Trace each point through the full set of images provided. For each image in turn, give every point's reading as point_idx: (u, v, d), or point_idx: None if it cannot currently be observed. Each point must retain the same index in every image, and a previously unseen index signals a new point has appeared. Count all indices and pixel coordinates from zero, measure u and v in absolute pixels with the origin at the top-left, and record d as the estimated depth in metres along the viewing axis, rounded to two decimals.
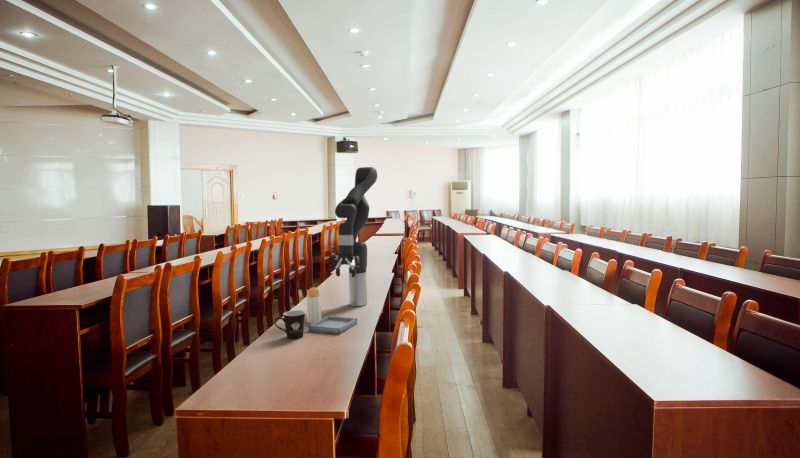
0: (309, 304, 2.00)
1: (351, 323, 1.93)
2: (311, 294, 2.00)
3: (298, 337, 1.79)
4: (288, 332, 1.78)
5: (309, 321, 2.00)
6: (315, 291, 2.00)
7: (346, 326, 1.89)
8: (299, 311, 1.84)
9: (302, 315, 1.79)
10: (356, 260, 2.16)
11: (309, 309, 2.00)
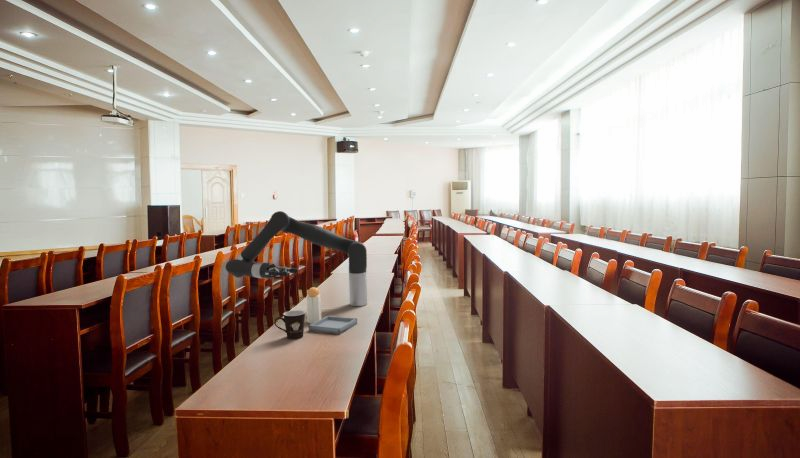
0: (309, 304, 2.00)
1: (351, 323, 1.93)
2: (311, 294, 2.00)
3: (298, 337, 1.79)
4: (288, 332, 1.78)
5: (309, 321, 2.00)
6: (315, 291, 2.00)
7: (346, 326, 1.89)
8: (299, 311, 1.84)
9: (302, 315, 1.79)
10: None
11: (309, 309, 2.00)
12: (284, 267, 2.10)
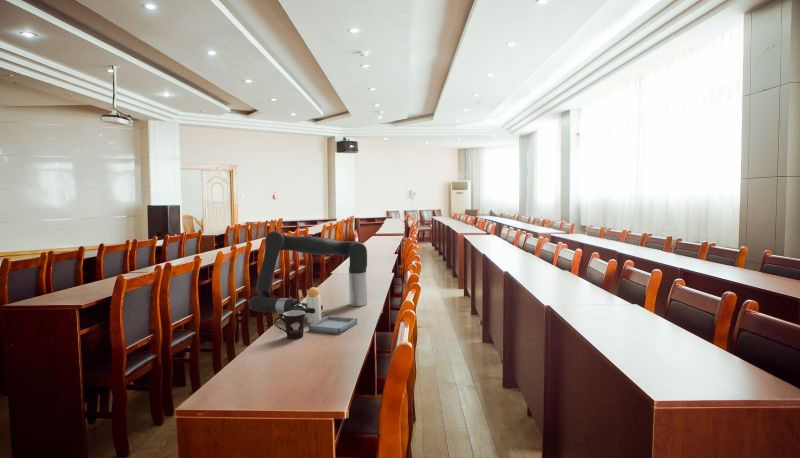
0: (309, 304, 2.00)
1: (351, 323, 1.93)
2: (311, 294, 2.00)
3: (298, 337, 1.79)
4: (288, 332, 1.78)
5: (309, 321, 2.00)
6: (315, 291, 2.00)
7: (346, 326, 1.89)
8: (299, 311, 1.84)
9: (302, 315, 1.79)
10: None
11: None
12: None
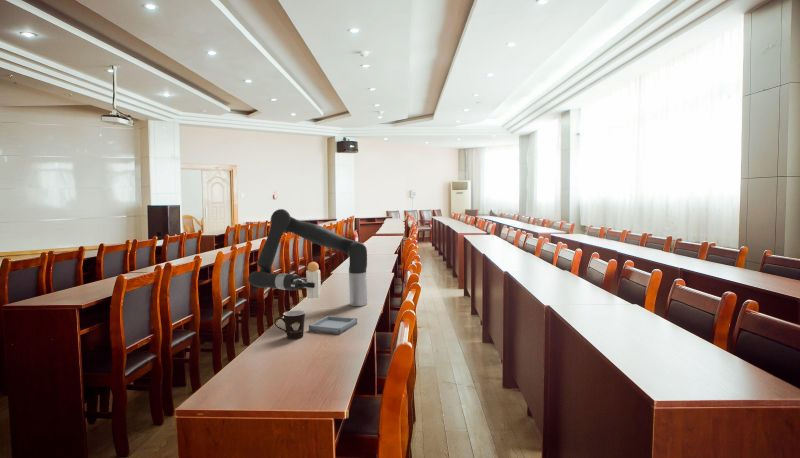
0: (309, 278, 1.98)
1: (351, 323, 1.93)
2: (311, 268, 1.98)
3: (298, 337, 1.79)
4: (288, 332, 1.78)
5: (309, 296, 1.99)
6: (315, 265, 1.99)
7: (346, 326, 1.89)
8: (299, 311, 1.84)
9: (302, 315, 1.79)
10: (294, 288, 1.98)
11: None
12: None
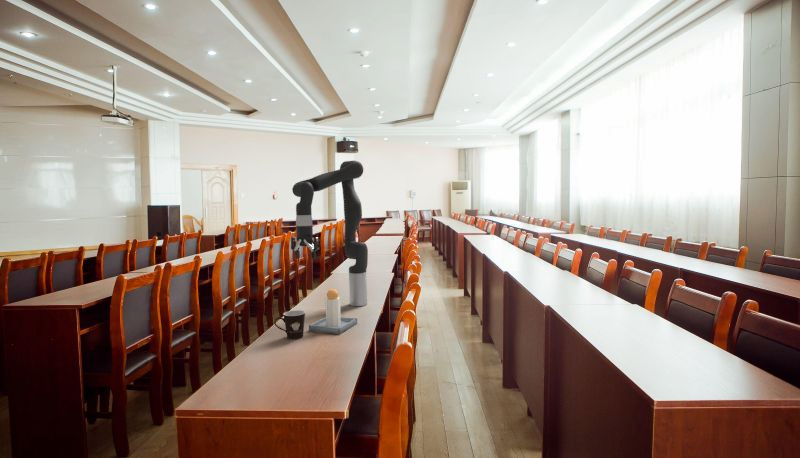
0: (328, 307, 1.90)
1: (351, 323, 1.93)
2: (330, 296, 1.90)
3: (298, 337, 1.79)
4: (288, 332, 1.78)
5: (328, 324, 1.91)
6: (334, 293, 1.91)
7: (346, 326, 1.89)
8: (299, 311, 1.84)
9: (302, 315, 1.79)
10: (315, 241, 2.04)
11: (328, 312, 1.90)
12: None
